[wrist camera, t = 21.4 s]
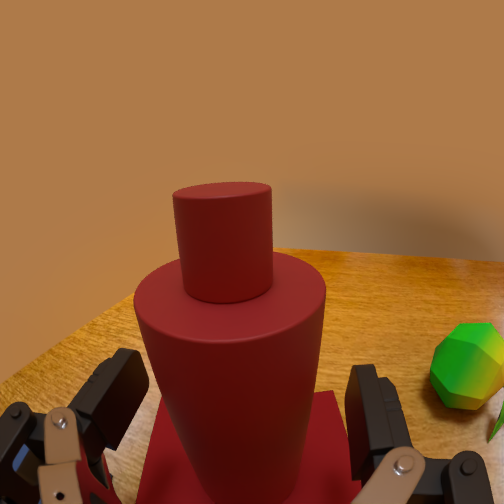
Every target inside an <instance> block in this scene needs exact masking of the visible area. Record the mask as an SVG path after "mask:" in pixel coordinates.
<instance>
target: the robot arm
mask: <svg viewBox="0 0 504 504" xmlns="http://www.w3.org/2000/svg"><path fill="white" fill-rule="evenodd" d="M148 388H149V377H148V374H147V372H146V369H145V366H144V363H143V360H142V357H141V354H140V352H139V351H137V350H131V349H126V348H119V349H118V350H117V351H116V353H115V354H114V355H113V357H112V358H108V359H106V360H105V361H103V362H102V363H101V364H99V365H98V367H97V368H96V369H95V370H94V372H93V375H91V376H90V377H89V378H88V381H87V382H85V384H84V385H83V386H82V388H81V389H80V390H79V392H78V393H77V394H76V396H75V397H74V399H73V400H72V401H71V403H70V404H69V405H68V406H67V407H57V408H54V409H52V410H51V411H50V412H49V413H48V414H43V413H35V412H32V410H31V409H30V408H29V406H28V405H27V404H26V403H24V402H15V403H13V404H11V405H10V406H9V407H8V408H7V409H6V410H5V412H4V413H3V414H2V416H1V417H0V504H38V503H39V501H40V499H41V504H122V503H121V501H120V500H119V498H118V497H117V495H116V493H115V491H114V487H113V484H112V481H111V477H110V474H109V470H108V466H107V463H106V459H105V455H104V453H103V451H104V449H105V447H106V448H109V449H112V450H115V451H116V450H117V448H118V446H119V444H120V442H121V440H122V438H123V436H124V434H125V433H126V431H127V429H128V427H129V425H130V423H131V421H132V419H133V417H134V416H135V414H136V412H137V410H138V408H139V406H140V404H141V403H142V401H143V399H144V397H145V395H146V393H147V391H148ZM401 408H402V407H401V404H400V400H399V397H398V394H397V391H396V388H395V386H394V385H393V384H392V383H391V381H390V380H389V379H388V378H387V377H382V378H378V376H377V373H376V369H375V366H374V365H373V364H366V365H353V366H352V369H351V373H350V377H349V381H348V385H347V389H346V393H345V415H346V423H347V432H348V442H349V452H350V464H351V477H352V481H358V480H361V488H362V489H361V490H360V492H359V493H358V494H357V496H356V497H355V498H354V499H353V501H352V502H351V503H350V504H494V501H493V496H492V491H491V487H490V482H489V478H488V474H487V470H486V467H485V463H484V460H483V459H482V457H481V456H480V455H479V454H478V453H476V452H473V451H462V452H460V453H458V454H457V455H455V456H454V457H453V458H452V459H432V458H427V457H424V456H423V455H422V454H421V453H420V452H419V451H418V450H416V449H414V447H413V446H412V443H411V439H410V436H409V432H408V428H407V425H406V421H405V417H404V414H403V411H402V410H401ZM23 444H25V445H26V446H27V448H28V449H29V450H28V452H27V454H26V455H25V457H24V459H23V460H22V462H21V464H20V466H19V467H18V469H17V470H16V471H14V469H13V461H14V459H15V458H16V456H17V454H18V453H19V451H20V449H21V448H22V446H23Z"/></svg>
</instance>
